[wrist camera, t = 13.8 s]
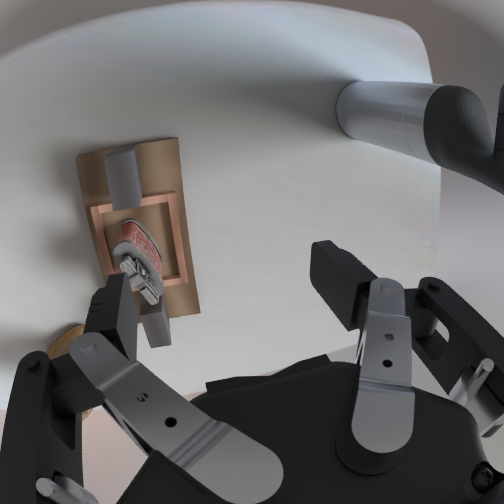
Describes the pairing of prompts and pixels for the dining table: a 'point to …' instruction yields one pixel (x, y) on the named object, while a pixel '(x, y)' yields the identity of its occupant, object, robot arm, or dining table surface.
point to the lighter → (140, 259)
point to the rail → (143, 222)
